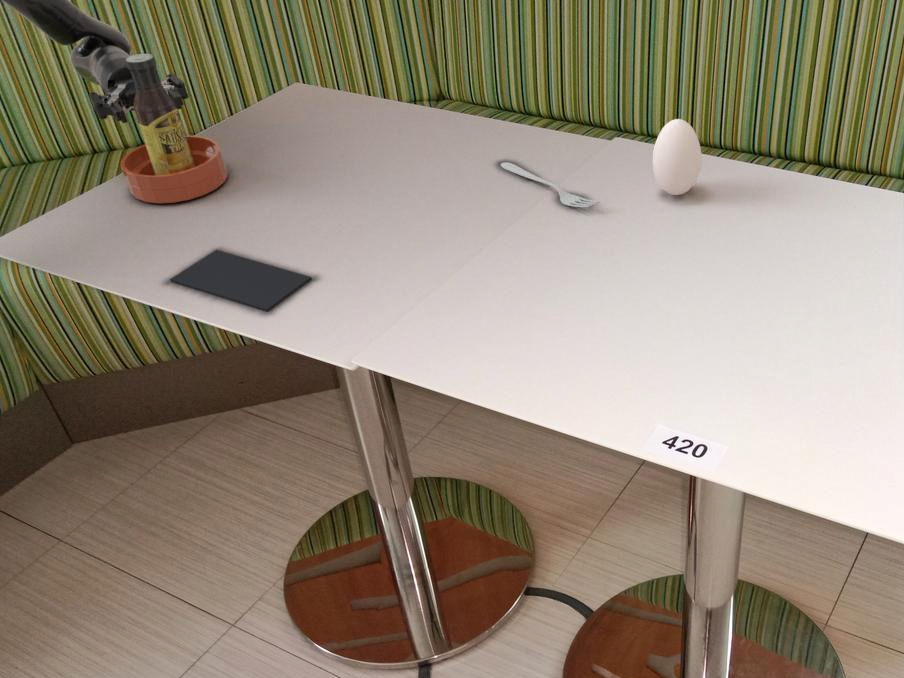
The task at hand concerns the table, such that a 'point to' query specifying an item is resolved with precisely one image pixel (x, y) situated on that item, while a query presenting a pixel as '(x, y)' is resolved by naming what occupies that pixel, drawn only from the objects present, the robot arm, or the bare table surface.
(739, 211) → the table surface
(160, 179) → the bowl
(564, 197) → the fork
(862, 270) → the table surface
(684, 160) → the egg
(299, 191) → the table surface
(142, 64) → the sauce bottle
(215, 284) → the mat
